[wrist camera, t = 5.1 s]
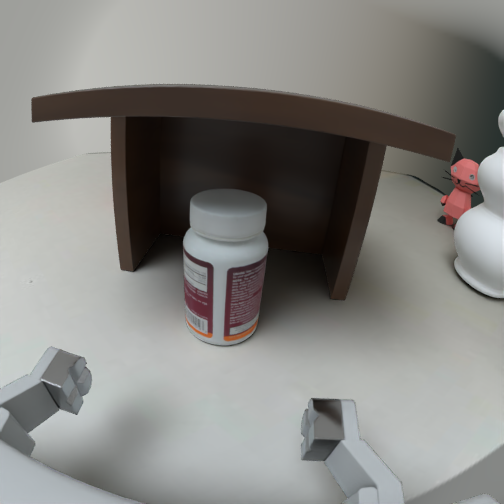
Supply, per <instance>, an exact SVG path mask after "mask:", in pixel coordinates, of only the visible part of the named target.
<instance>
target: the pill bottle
mask: <svg viewBox="0 0 504 504" xmlns="http://www.w3.org/2000/svg"><path fill="white" fill-rule="evenodd" d="M266 212H267V204H266V202H265V200H264V199H263V198H261V197H260V196H258V195H256V194H254V193H251V192H247V191H243V190H237V189H211V190H206V191H202V192H200V193H197V194H196V195H194V196H193V197H192V198H191V201H190V226H191V228H190V229H189V230H188V231H187V232H186V234H185V236H184V240H183V259H184V292H185V317H186V324H187V326H188V328H189V330H190V332H191V333H192V334H193V335H194V336H196V337H197V338H198V339H200V340H202V341H204V342H207V343H210V344H215V345H224V346H225V345H233V344H237V343H239V342H242V341H244V340H246V339H247V338H248V337H250V336H251V335H252V334H253V332H254V331H255V329H256V327H257V323H258V316H259V311H260V303H261V296H262V289H263V282H264V275H265V267H266V260H267V253H268V240H267V237H266V235H265V234H264V232H263V230H264V227H265V224H266Z"/></svg>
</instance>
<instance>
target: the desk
mask: <svg viewBox="0 0 504 504" xmlns="http://www.w3.org/2000/svg"><path fill="white" fill-rule="evenodd" d="M92 117H93V118H94V117H111V165H112V186H113V201H114V214H115V225H116V235H117V244H118V252H119V260H120V268H121V270H127V271H134V270H135V269H136V267H137V266H138V264H139V263H140V261H141V260H142V259H143V257H144V256H145V254H146V253H147V252H148V250H149V249H150V247H151V246H152V245H153V243H154V242H155V240H156V239H157V238H158V236H159V235H160V234H166V235H174V236H182V237H184V236H185V234H186V232H187V231H188V230H189V229H190V228H191V226H190V201H191V198H192V197H193V196H194V195H196V194H197V193H200V192H202V191H206V190H211V189H237V190H243V191H247V192H251V193H254V194H256V195H258V196H260V197H261V198H263V199H264V200H265V202H266V204H267V212H266V224H265V227H264V230H263V232H264V234H265V235H266V237H267V240H268V248H275V249H282V250H290V251H298V252H305V253H313V254H320V255H321V254H322V257H323V262H324V267H325V272H326V277H327V282H328V287H329V292H330V297H331V299H337V300H345V299H346V295H347V292H348V289H349V286H350V283H351V280H352V277H353V274H354V271H355V267H356V264H357V261H358V257H359V254H360V251H361V247H362V244H363V240H364V237H365V233H366V229H367V226H368V222H369V218H370V215H371V211H372V207H373V203H374V199H375V195H376V191H377V187H378V182H379V178H380V174H381V169H382V165H383V160H384V155H385V151H386V146H391V147H395V148H399V149H403V150H407V151H411V152H414V153H418V154H422V155H425V156H429V157H433V158H436V159H439V160H442V161H446V162H450V160H451V156H452V151H453V147H454V143H455V138H456V135H455V134H452V133H449V132H447V131H444V130H442V129H439V128H436V127H433V126H430V125H427V124H424V123H421V122H418V121H415V120H412V119H408V118H405V117H401V116H398V115H395V114H392V113H388V112H384V111H381V110H376V109H373V108H369V107H365V106H361V105H357V104H352V103H347V102H342V101H337V100H331V99H327V98H321V97H316V96H310V95H303V94H297V93H289V92H282V91H275V90H266V89H257V88H246V87H234V86H233V87H232V86H218V85H195V84H194V85H193V84H150V85H131V86H130V85H129V86H114V87H104V88H93V89H85V90H76V91H69V92H63V93H56V94H50V95H44V96H38V97H33V98H32V122H42V121H52V120H64V119H77V118H92Z"/></svg>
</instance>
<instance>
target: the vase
mask: <svg viewBox="0 0 504 504" xmlns="http://www.w3.org/2000/svg"><path fill="white" fill-rule="evenodd" d="M498 123H499V127H500V130H501V132H502V135H503V136H504V110H503V111H502V112H501V113H500V116H499V120H498ZM477 178H478V184H479V187H480V189H481V192H482V194H483V196H484V203H481V204H480V205H478V206H476V207H474V208H471V209H469V210H468V211H466V212H465V213H464V214H463V215H462V216H461V217H460V218H459V220H458V221H457V223H456V226H455V230H454V244H455V248H456V251H457V254H458V257H457V258H456V259H455V261H454V266H455V269H456V271H457V272H458V274H459V275H460V276H461V277H462V279H463V280H465V281H466V283H468V284H469V285H470V286H471V287H473V288H475V289H476V290H478V291H480V292H481V293H483V294H486V295H488V296H491V297H496V298H504V147H500V148H499V149H498V151H497V152H496V153H494V154H493V155H491V156H488V157H487V158H486V159H484V160H483V161H482V163H481V164H480V166H479V168H478V173H477Z"/></svg>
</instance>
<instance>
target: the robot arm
mask: <svg viewBox="0 0 504 504" xmlns="http://www.w3.org/2000/svg"><path fill="white" fill-rule="evenodd" d="M86 364H87V362H86V360H85V358H84V357H81V356H78V355H75V354H72V353H69V352H66V351H63V350H61V349H58V348H55V347H52V346H51V347H49V348H48V349H47V350H46V351H45V353H44V354H43V356H42V357H41V359H40V360H39V362H38V363H37V365H36V366H35V368H34V369H33V371H32V372H31V374H30V375H25V376H23V377H21V378H19V379H17V380H15V381H14V382H12V383H10V384H8V385H6V386H4V387H2V388H0V504H145V503H141V502H138V501H135V500H131V499H128V498H125V497H122V496H119V495H116V494H113V493H110V492H107V491H105V490H102V489H99V488H97V487H94V486H92V485H89V484H87V483H84V482H82V481H79V480H77V479H75V478H72V477H70V476H68V475H66V474H63V473H61V472H59V471H57V470H55V469H53V468H51V467H49V466H47V465H45V464H43V463H41V462H39V461H37V460H35V459H33V458H31V457H30V455H31V453H32V451H33V449H34V447H35V441H34V440H33V439H32V438H31V437H30V436H29V434H28V433H29V432H30V431H32V430H33V429H34V428H36V427H37V426H38V425H40V424H41V423H42V422H44V421H45V420H47V419H48V418H49V417H51V416H52V415H53V414H55V413H56V412H57V411H59V410H60V409H62V410H64V411H67V412H70V413H73V414H75V415H77V414H78V412H79V410H80V408H81V406H82V404H83V397H82V396H84V395H86V394H87V393H88V392H89V390H90V388H91V383H92V375H91V372H90V370H89V369H88V368H87V367H86ZM301 434H302V435H303V437H304V440H303V442H302V444H301V460H307V461H325V462H324V463H325V464H326V466H327V467H328V469H329V470H330V472H331V474H332V475H333V477H334V478H335V480H336V481H337V483H338V484H339V486H340V487H341V489H342V490H343V492H344V493H345V495H346V496H347V498H348V499H346V500H345V501H344V502H342V503H341V504H405V503H404V495H403V488H402V482H401V481H400V480H399V479H398V478H397V477H396V475H395V474H394V473H393V472H392V471H391V470H390V469H389V468H388V466H387V465H386V464H385V463H384V462H383V461H382V460H381V458H380V457H379V456H378V455H377V454H376V453H375V452H374V450H373V449H372V448H371V447H370V446H369V445H368V444H367V442H366V441H365V440H360V433H359V425H358V418H357V411H356V405H355V402H354V400H349V399H321V398H311V399H310V400H309V403H308V409H306V410H305V412H304V414H303V418H302V425H301ZM452 504H500V503H499V502H498V501H497V500H495V499H494V498H493V497H492V496H490V495H488V494H481V495H477V496H474V497H471V498H468V499H466V500H462V501H459V502H456V503H452Z"/></svg>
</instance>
